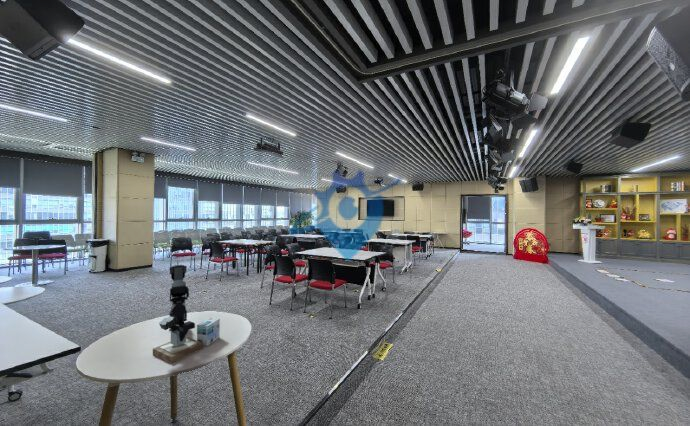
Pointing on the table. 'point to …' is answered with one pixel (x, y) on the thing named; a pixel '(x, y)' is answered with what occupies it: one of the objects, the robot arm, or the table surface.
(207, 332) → the light bulb box
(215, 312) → the table surface
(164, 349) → the walnut base
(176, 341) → the grey block
